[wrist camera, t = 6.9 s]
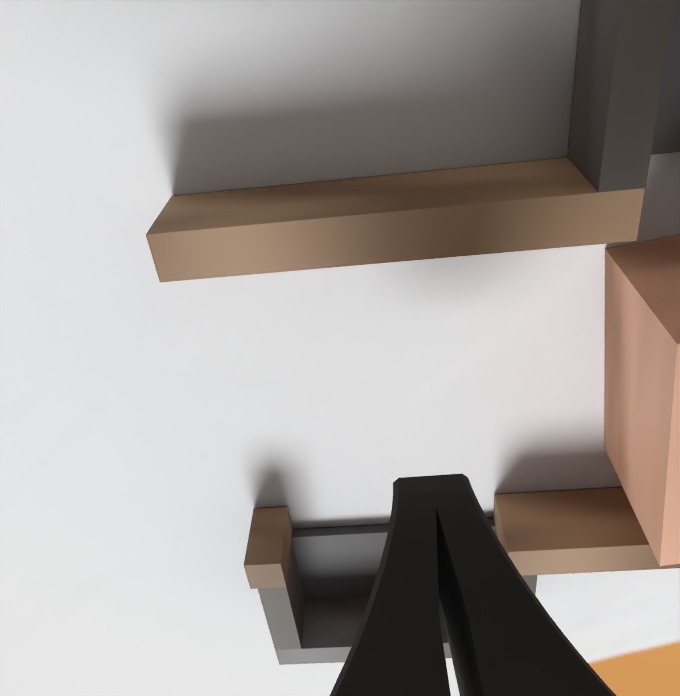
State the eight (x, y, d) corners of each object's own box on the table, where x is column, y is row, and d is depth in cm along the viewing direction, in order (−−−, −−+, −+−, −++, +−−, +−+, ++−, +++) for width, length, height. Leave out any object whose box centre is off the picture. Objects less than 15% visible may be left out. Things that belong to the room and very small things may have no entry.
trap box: (279, 607, 21) (271, 680, 19) (118, -8, 11) (66, 9, 9) (811, 582, 20) (864, 658, 18) (1155, -136, 10) (1362, -150, 8)
